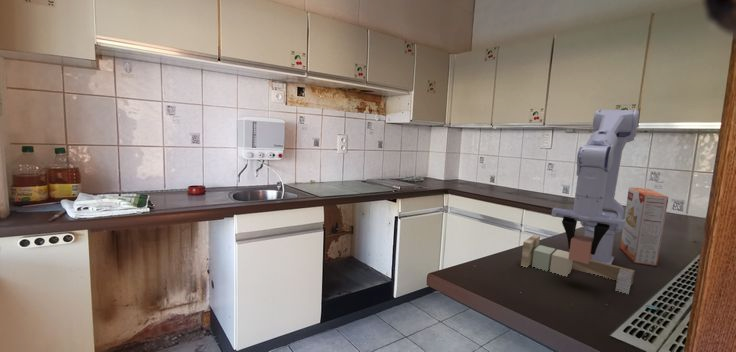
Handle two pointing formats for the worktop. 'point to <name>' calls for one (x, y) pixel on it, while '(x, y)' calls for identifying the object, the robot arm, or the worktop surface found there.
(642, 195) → the cracker box
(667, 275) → the worktop surface
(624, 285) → the grey rectangular block
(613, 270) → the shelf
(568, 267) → the cream rectangular block
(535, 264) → the pale green block
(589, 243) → the pink rectangular block
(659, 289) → the worktop surface
